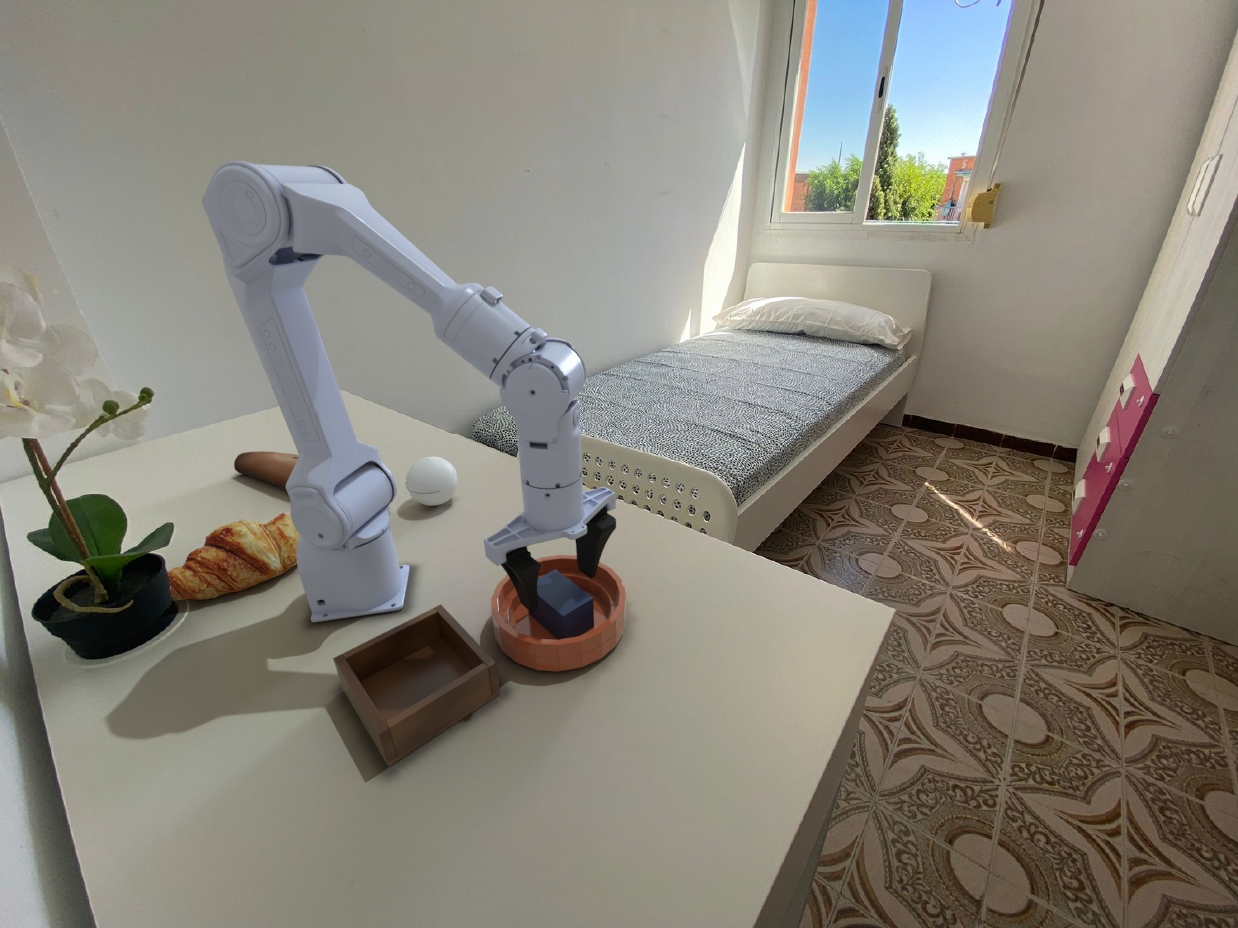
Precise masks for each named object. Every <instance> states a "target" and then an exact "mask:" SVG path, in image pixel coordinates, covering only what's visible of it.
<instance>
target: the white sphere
mask: <svg viewBox="0 0 1238 928" xmlns="http://www.w3.org/2000/svg"><path fill="white" fill-rule="evenodd" d="M458 485H459V476H458V472H457V470H456V468H455V467H454V466H453V465H452V463H451V462H450V461H448V460H446V459H444V458H442V457H440V456H425V457H422V458H420V459H418V460H416V461H415V462H414V463H413V464H412V465H411V466H410V467H409V468H408V472H407V473H406V477H405V488H406V489H407V492H405V493H404V494H403V495H400V497H399V498H398V500H400V499H401V498H403V497H404V496H405V495H406V494H408V493H409V495H410V496H411V498H413V500H414V501H416V502H417V503H418V504H422V505H424V506H429V507H433V506H439V505H442V504H445V503H447V502H448V501H449V500H450V499H451V498H452V497H454V495H455V494H456V491H457V489H458Z"/></svg>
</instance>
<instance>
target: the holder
mask: <svg viewBox="0 0 1238 928" xmlns="http://www.w3.org/2000/svg"><path fill="white" fill-rule="evenodd" d="M332 660H333V662H334V666H335V669H336V672H337V675H338V678H339V680H340V681H339V682H340V685H341V687H342V691H343V692H344V694H345V695H346V697H347V699H348V701H349V702H350V704H351V706H352V707H353V710H354V711H355V712H356V714H357V716H358V717H359V719H360V721H361V722H362V724H363V726H364V728H365V730H366V732H367V733H368V734H369V736H370V738H371V740H372V742H373V743H374V745H375V746H376V749H377V750H378V752H379V753H380V755H381V757H382V759H383V761H384V762H385V764H386V765H387V767H389V768H390V767H391V766H393V765H394V764H396V763H397V762H399V761H401V760H402V759H403V758H406V757H407V756H408V755H410V754H411V753H413V752H414V751H416V750H417V749H419V748H421V747H422V746H423V745H425V744H426V743H428V742H429V741H431V740H432V739H434V738H435V737H437V736H438V735H440V734H442V733H443V732H445V731H446V730H448V729H449V728H450V727H451V728H452V726H454V725H456V724H457V723H459V722H460V721H462V720H463V719H464V718H467V717H468V716H469V715H470V714H472V713H474V712H475V711H477V710H478V709H480V708H481V707H484V705H486V704H487V703H489V702H490V701H492V700H493V699H495V698H497V697H498V696H500V695H501V690H500V682H499V676H498V675H499V674H498V667H497V662H496V661H495V660H494V659H493V658H492V657H491V656H490V655H489V654H488V653H487V651H485V650H484V648H483V647H482V646H481V645H480V644H479V643H478V642H477V641H476V640H475V639H474V638H473V637H472V636H471V634H470V633H469V632H468V631H467V630H466V629H465V628H464V627H463V626H462V625H461V624H460V623H459V622H458V621H457V619H455V618H454V616H453V615H452V614H451V613H450V612H449V611H448V610H447V609H446V608H445V607H444V606H443V605H442V604H438V605H437V606H435V607H433V608H431V609H428V610H426V611H424V612H423V613H421V614H419V615H417V616H415V617H413V618H411V619H409V620H406V621H405V622H402V623H401V624H399V625H397V626H395V627H393V628H391V629H388V630H387V631H385V632H382V633H381V634H379V635H377V636H374V637H373V638H370V639H368V640H367V641H365V642H363V643H361V644H359V645H357V646H355V647H353V648H350V649H349V650H347V651H345V652H342V653H341V654H339V655H337V656H335V657H333V658H332Z"/></svg>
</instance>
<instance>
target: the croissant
mask: <svg viewBox="0 0 1238 928" xmlns="http://www.w3.org/2000/svg"><path fill="white" fill-rule="evenodd" d="M300 537H301V535H300V534H299V533H298V532H297V530H296V529H295V527H294V524H293V522H292V519H291V514H287V513H284V512H282V513H281V514H279V515H277V516H276V517H274V518H273V519H269V520H268V521H267V522H266V523H263V522H256V521H255V520H253V519H242V520H239V521H233V522H231V523H227V524H224V525H222V526H219V527H217V528H216V529H214V530H213V531H211V532H210V533H209V534H208V535H206V536H205V541H204V544H203V546H201V547H198V548H195V550H192V551H190V552H189V553H188V554H187V557H186V558H185V559H186V560H185V562H184V564H183V565H182V566H176V567H172V569H170V570H169V571H167V572H166V573H168V576H169V579H170V587H171V596H172V597H173V600H172V601H181V600H182V601H184V600H198V601H199V600H209V599H215V598H218V597H220V596H222V595H226V594H229V593H236V592H240V591H244V590H247V589H250V588H252V587H256V586H257V585H258V584H261V583H263V582H266V581H268V580H271V579H274V578H276V577H278V576H280V575H282V574H284V573H286V572H287V571H289V570H290V569H291V568H293V567H294V566H297V546H298V542H299V539H300Z"/></svg>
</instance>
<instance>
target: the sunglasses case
mask: <svg viewBox="0 0 1238 928" xmlns="http://www.w3.org/2000/svg"><path fill="white" fill-rule="evenodd" d="M298 457H299V454H295V453H287V452H286V453H285V452H278V451H261V450H260V451H247V452H242V453H240V454H238V455H237V456H236V458H235V460H234V463H233V467H234V471H236V473H239V474H241V475H243V476H247V477H251V478H254V479H257V480H260V481H263V482H265V483H267V484H269V485H273V486H275V487H277V488H279V489H281V490H284V491H286V492H287V490H286V484H287V481H288V479H289V477H290V475H291V473H292V471H293V469H294V467H295V464H296V462H297V460H298Z"/></svg>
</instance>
